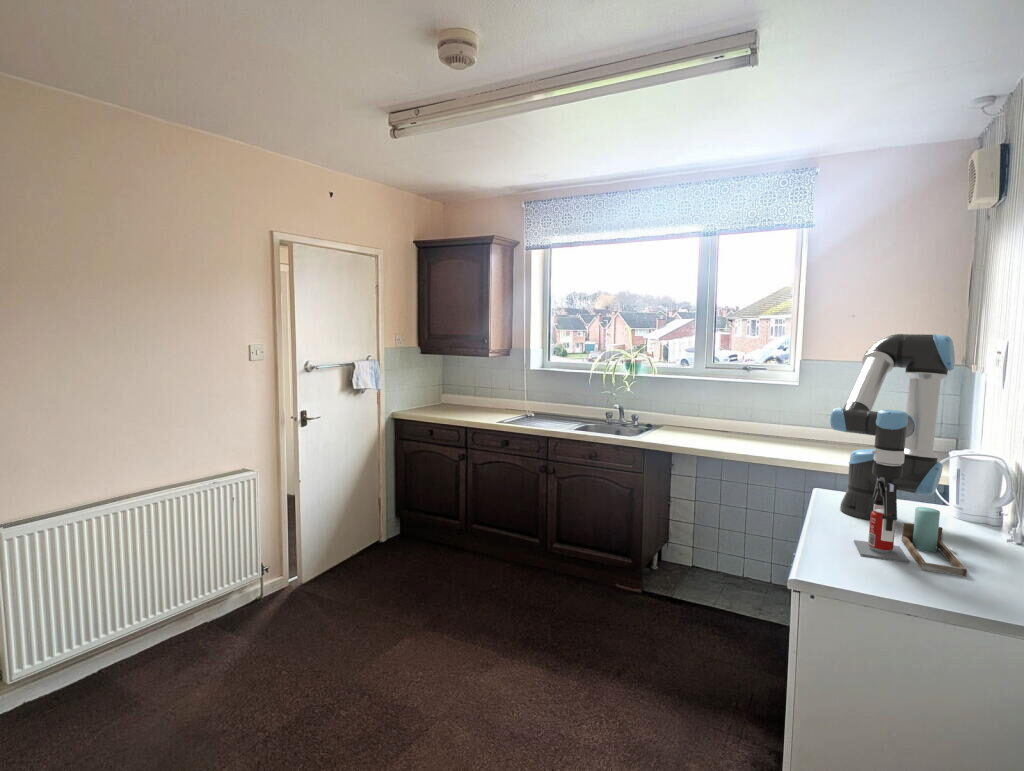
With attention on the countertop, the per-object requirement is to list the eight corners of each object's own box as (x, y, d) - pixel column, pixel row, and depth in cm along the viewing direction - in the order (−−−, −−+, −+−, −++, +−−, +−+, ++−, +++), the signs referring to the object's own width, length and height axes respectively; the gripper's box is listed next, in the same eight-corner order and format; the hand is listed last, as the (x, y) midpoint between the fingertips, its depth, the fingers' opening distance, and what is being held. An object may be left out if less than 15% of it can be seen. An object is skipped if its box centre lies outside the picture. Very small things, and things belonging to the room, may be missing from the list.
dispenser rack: (901, 540, 181) (903, 522, 180) (939, 546, 177) (941, 527, 176) (921, 569, 159) (923, 549, 158) (966, 576, 155) (968, 555, 154)
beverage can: (896, 554, 168) (900, 514, 166) (873, 552, 169) (876, 513, 168) (887, 546, 174) (890, 508, 173) (864, 544, 175) (867, 506, 174)
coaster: (853, 541, 179) (854, 539, 179) (899, 548, 175) (899, 546, 174) (860, 555, 168) (860, 553, 168) (909, 562, 163) (909, 560, 163)
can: (910, 543, 179) (913, 505, 177) (933, 546, 176) (936, 508, 175) (914, 550, 173) (918, 511, 172) (939, 553, 171) (942, 514, 169)
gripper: (865, 453, 181) (860, 518, 184) (881, 471, 158) (875, 545, 161) (893, 455, 178) (887, 521, 181) (914, 474, 156) (907, 550, 158)
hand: (882, 533), depth 171 cm, fingers open, 13 cm apart
